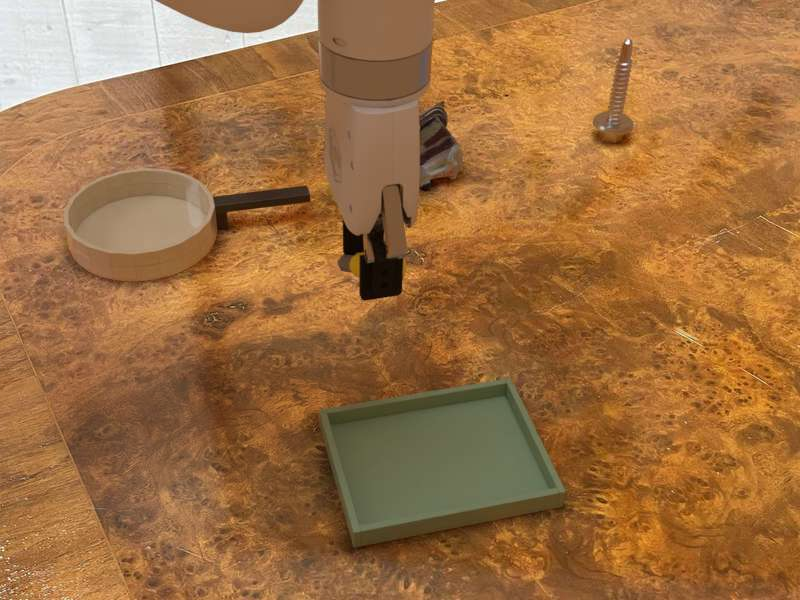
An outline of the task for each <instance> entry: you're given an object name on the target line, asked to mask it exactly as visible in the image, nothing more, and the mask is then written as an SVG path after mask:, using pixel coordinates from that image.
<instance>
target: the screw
mask: <svg viewBox="0 0 800 600" xmlns="http://www.w3.org/2000/svg"><path fill="white" fill-rule="evenodd" d="M633 46H634V45H633V40H632V39H631V38H629V37H628V38H625V40H624V41H623V43H622V45H621V47H620V51H619V55H618V56H617V59H618V60H616V62H615V63H616V65H615V66H614V67H615V69H614V71H613V72H614V74H613V79H612V82H613V83H612V84H611V86H612V88H611V89H610V91H611V92H610V95H609V96H610V97H609V102H608V104H609V105H608V106H607V109H608V110H605V111H602V112H599V113H597V114H596V115H594V116H593V119H592V125H593V127H594V128H595V129H596V130H597V131H598V132H599V133H598V134H599V137H600V139H601V140H602V141H603V142H605V143H606V142H607V143H610V144H611V143H612V144H616V143H618V142H620V141H622V140H623V138H624V135H627V134H630V133H631V132H632V131H633V130H634V128H635V127H634V126H635V123H634V121H633V119H632V118H630V116H628V114H625V113H624V109H625V105H626V99H627V94H628V92H627V91H628V89H629V88H628V87H629V82H630V77H631V72H632V67H633V64H632V63H633V60H632V54H633Z"/></svg>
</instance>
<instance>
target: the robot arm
mask: <svg viewBox="0 0 800 600" xmlns="http://www.w3.org/2000/svg"><path fill="white" fill-rule="evenodd" d="M154 1H156V2H157V3H159V4H161V5H163V6H165V7H167V8H169V9H171V10H173V11H174V12H177V13H179V14H181V15H183V16H185V17H188V18H189V19H192V20H193V21H196V22H199V23H202V24H204V25H207V26H208V27H209V26H210V27H212V28H216V29H219V30H223V31H226V32H230V33H241V34H255V33H262V32H265V31H268V30H272V29H275V28H277V27H278V26H280V25H283V24H284V23H285V22H286V21H287V20H289V19H290V18H291V17H292V16H293V15H295V14H296V12H297V11H298V9H299V8H300V7H301V5H302V4H303V2H304V0H154ZM435 4H436V1H435V0H317V35H318V36H317V39H318V41H317V42H318V43H317V44H318V75H319V76H318V77H319V78H318V79H319V80H318V81H319V85H320V88H321V89H322V90H323V92H325V98H324V99H325V100H324V101H325V102H324V124H323V125H324V128H323V131H324V132H323V168H324V174H325V176H326V179H327V182H328V185H329V187H330V191H331V193H332V196H333V198H334V200H335V203H336V205H337V208H338V210H339V213H340V215H341V217H342V253H343V254H345V255H355V254H356V253H361V252H364V255H360V269H359V277H358V280H359V284H358V285H359V286H358V287H359V289H358V292H359V297H360V299H361V300H362V301H372V300H379V299H384V298H391V297H397V296H400V295H402V292H403V280H402V278H403V258H404V259H405V257H408V254H409V253H408V244H407V235H406V229H405V227H406V228H408V229H411V228H412V227H413V226H414V225H415V223H416V222H417V219H418V212H419V203H420V202H419V201H420V186H419V183H420V131H419V130H420V125H419V115H420V105H419V99H420V98H421V97H423V96H424V95H425V94H426V93H427V92H428V91H429V88H430V87H431V81H432V80H431V79H432V78H431V77H432V76H431V75H432V59H433V43H434V42H433V39H434V21H435Z"/></svg>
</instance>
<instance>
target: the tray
mask: <svg viewBox="0 0 800 600" xmlns="http://www.w3.org/2000/svg"><path fill="white" fill-rule="evenodd" d="M318 426H319V429H320V434H321V436H322V440H323V444H324V447H325V451H326V455H327V458H328V461H329V465H330V468H331V469H330V470H331V473H332V476H333V480H334V483H335V487H336V490H337V494H338V497H339V501H340V504H341V508H342V512H343V516H344V520H345V522H346V526H347V531H348V534H349V537H350V540H351V544H352V547H353V548H354V549H356V548H361V547H366V546H370V545H376V544H380V543H385V542H391V541H396V540H401V539H406V538H412V537H417V536H421V535H425V534H433V533H438V532H442V531H446V530H447V531H448V530H451V529H457V528H462V527H468V526H472V525H477V524H483V523H486V522H492V521H497V520H503V519H508V518H512V517H518V516H523V515H528V514H529V515H530V514H533V513H539V512H543V511H548V510H554V509H559V508H563V507H564V505H565V498H566V493H567V491H566V488H565V487H564V484H563V482H562V480H561V478H560V476H559V474H558V471H557V470H556V467H555V466H554V464H553V461H552V460H551V457H550V456H549V453H548V451H547V449H546V448H545V446H544V443H543V441H542V439H541V437H540V435H539V433H538V431H537V429H536V426H535V424H534V423H533V421H532V418H531V416H530V414H529V412H528V410H527V408H526V406H525V404H524V402H523V400H522V398H521V396H520V394H519V391H518V389H517V388H516V385H515V384H514V381H513V379H512V378H511V377H508V378H507V377H505V378H502V379H495V380H489V381H483V382H478V383H471V384H464V385H460V386H459V385H458V386H452V387H448V388H441V389H434V390H429V391H424V392H417V393H412V394H405V395H399V396H393V397H386V398H380V399H377V400H376V399H374V400H369V401H363V402H357V403H350V404H345V405H339V406H332V407H328V408H320V409H318Z"/></svg>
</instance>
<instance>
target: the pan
mask: <svg viewBox="0 0 800 600" xmlns="http://www.w3.org/2000/svg"><path fill="white" fill-rule="evenodd" d="M213 197H214V196H213V193H212V191H211V190H210V189H209V188H208V187H207V186H206V185H205V184H204V183H203V181H200V180H199V179H197V178H195V177H194V176H192V175H189V174H188V173H184V172H180V171H176V170H172V169H168V168H156V167H155V168H152V167H142V168H133V169H124V170H120V171H116V172H113V173H109V174H106V175H103V176H100V177H99V178H97V179H95V180H92V181H91V182H89V183H87V184H85V185H83V186H82V187H81V188H80V189H79V190H77V191H76V192H75V193H74V194H73V195H72V196H70V198H69V200H68V201H67V203H66V205H65V207H64V210H63V226H64V232H65V236H66V240H67V246H68V251H69V252H70V254H71V256H72V258H73V259H74V261H75V262H76V263H77V264H78V265H79V266H80V267H81V268H82V269H84V270H85V271H87V272H89V273H91V274H93V275H95V276H98V277H100V278H104V279H107V280H112V281H119V282H146V281H155V280H159V279H163V278H168V277H171V276H173V275H176V274H179V273H181V272H184V271H186V270H188V269H190V268H192V267H193V266H195V265H197V263H199V262H201V261H202V260H203V259H204V258H205V257H206V256H207V255H208V254H209V252H211V250H212V249H213V247H214V245H215V243H216V239H217V235H218V234H217V233H218V230H217V222H216V212H215V204H214V200H213Z"/></svg>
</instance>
